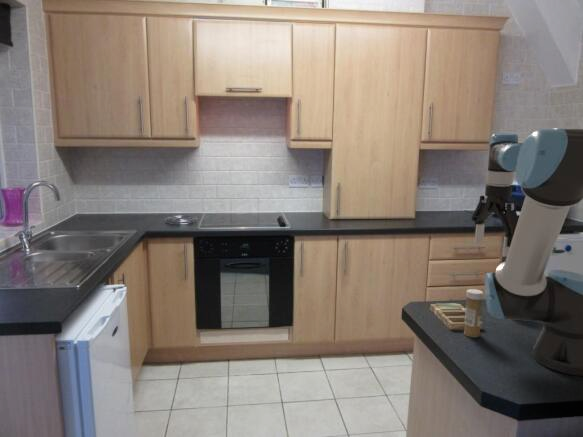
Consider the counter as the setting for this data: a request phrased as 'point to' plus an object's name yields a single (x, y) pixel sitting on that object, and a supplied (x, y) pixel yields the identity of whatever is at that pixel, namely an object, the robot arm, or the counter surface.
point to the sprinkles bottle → (473, 312)
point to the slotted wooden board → (451, 315)
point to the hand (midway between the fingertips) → (491, 249)
